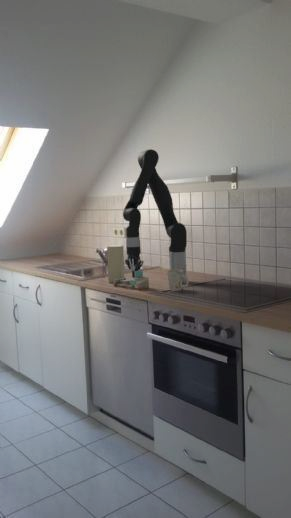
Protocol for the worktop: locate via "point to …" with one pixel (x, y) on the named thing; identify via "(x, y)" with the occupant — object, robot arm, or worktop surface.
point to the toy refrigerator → (115, 262)
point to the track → (139, 283)
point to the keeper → (137, 275)
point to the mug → (176, 280)
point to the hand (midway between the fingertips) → (134, 277)
